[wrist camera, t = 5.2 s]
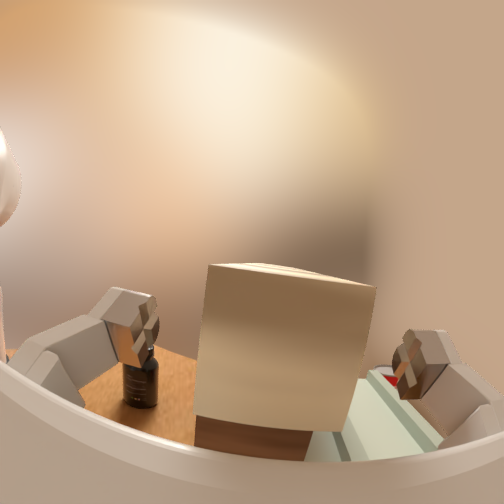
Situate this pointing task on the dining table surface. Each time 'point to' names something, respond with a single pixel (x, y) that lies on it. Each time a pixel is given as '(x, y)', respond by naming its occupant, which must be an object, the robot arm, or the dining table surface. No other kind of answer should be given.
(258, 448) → the walnut pedestal
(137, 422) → the dining table surface
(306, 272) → the tan block
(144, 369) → the supplement bottle
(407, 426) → the sage step
